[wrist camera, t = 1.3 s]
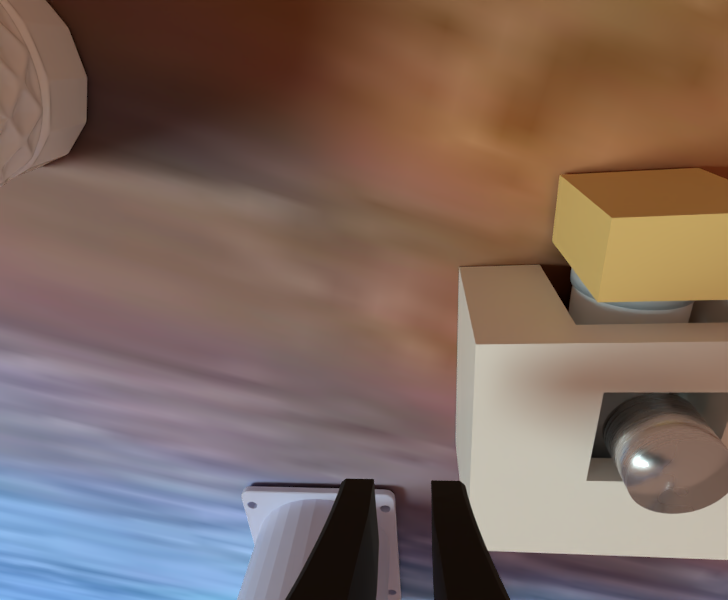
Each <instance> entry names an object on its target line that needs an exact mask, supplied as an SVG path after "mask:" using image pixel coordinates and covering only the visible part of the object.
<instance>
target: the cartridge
mask: <svg viewBox="0 0 728 600" xmlns="http://www.w3.org/2000/svg"><path fill="white" fill-rule="evenodd" d="M552 242H553V243H554V244H555V246H556V247H557V248H558V250H559V251H560V252H561V254H562V255H563V257H564V258H565V259H566V261H567V262H568V263H569V265H570V266H571V267H572V268H571V275H570V281H571V283H572V290H571V297H570V304H569V311H568V313H569V314H570V316H571V318H572V319H573V321H574V323H575V324H576V325H598V324H661V323H688V321H689V318H690V314H691V310H692V307H693V303H694V302H695V301H696V300H728V179H725V178H723V177H720V176H718V175H715V174H713V173H710V172H708V171H705V170H703V169H700V168H683V169H663V170H644V171H624V172H605V173H585V174H565V175H560V177H559V186H558V195H557V203H556V212H555V221H554V229H553V238H552ZM648 393H669V392H604V394H603V399H602V404H601V409H600V414H599V419H598V424H597V429H596V434H595V439H594V444H593V449H592V455H591V458H612V457H611V455H610V453H609V451H608V449H607V447H606V445H605V443H604V441H603V438H602V428H603V424H604V422H605V420H606V418H607V417H608V415H609V414H610V413H611V412H612V411H613V410H614V409H615V408H616V407H617V406H619V405H620V404H621V403H623V402H625V401H626V400H629V399H631V398H633V397H636V396H639V395H643V394H648Z"/></svg>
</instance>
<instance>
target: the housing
mask: <svg viewBox="0 0 728 600" xmlns="http://www.w3.org/2000/svg"><path fill="white" fill-rule="evenodd" d="M604 392H669V393H670V394H674V395H678V396H680V397H682V398H684V399H686V400H688V401H689V402H690V403H691V404H692V405H693V406H694V407H695V408H696V410H697V411H698V412H699V414H700V415H701V416H702V417H703V419H704V420H705V421H706V422H707V424H708V425H709V426H710V427H711V429H712V430H713V431H714V432H715V434H716V435H717V436H718V437H719V439H720V440H721V441H722V442H723V444H724V445H725V446H726V447H727V449H728V300H696V301H695V302H694V303H693V307H692V310H691V314H690V318H689V321H688V323H661V324H598V325H576V324H575V323H574V321H573V319H572V318H571V316H570V314H569V313H568V311H567V309H566V308H565V306H564V304H563V303H562V301H561V299H560V298H559V296H558V294H557V293H556V291H555V289H554V288H553V286H552V284H551V283H550V281H549V279H548V278H547V276H546V274H545V273H544V271H543V269H542V268H541V266H540V265H509V266H476V267H459V298H458V347H457V397H456V451H457V460H458V469H459V478H460V481H461V482H462V483H463V484H464V485H465V486H466V490H467V494H468V498H469V501H470V505H471V508H472V511H473V514H474V517H475V519H476V522H477V525H478V528H479V530H480V533H481V535H482V538H483V540H484V543H485V545H486V548H487V550H488V551H503V552H530V553H557V554H583V555H610V556H637V557H663V558H690V559H717V560H728V493H727V494H726V495H725V496H724V497H723V498H721V499H720V500H719V501H717V502H715V503H714V504H712V505H710V506H707V507H705V508H702V509H699V510H696V511H692V512H687V513H679V514H666V513H659V512H654V511H651V510H648V509H646V508H644V507H642V506H640V505H639V504H637V503H636V502H635V501H634V500H633V499H632V497H631V496H630V494H629V492H628V490H627V488H626V486H625V484H624V482H623V480H622V478H621V476H620V474H619V472H618V470H617V468H616V466H615V464H614V462H613V459H612V458H591V455H592V449H593V444H594V439H595V434H596V429H597V424H598V419H599V414H600V409H601V404H602V399H603V394H604Z"/></svg>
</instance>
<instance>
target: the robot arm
mask: <svg viewBox="0 0 728 600" xmlns="http://www.w3.org/2000/svg"><path fill="white" fill-rule="evenodd" d="M431 492H432V556H433V585H434V600H510V598H509V596H508V594H507V592H506V590H505V588H504V585H503V583H502V581H501V579H500V577H499V575H498V572H497V570H496V568H495V566H494V564H493V561H492V559H491V557H490V555H489V552H488V550H487V548H486V545H485V543H484V540H483V538H482V535H481V533H480V530H479V528H478V525H477V522H476V519H475V517H474V514H473V511H472V508H471V505H470V501H469V498H468V494H467V490H466V486H465V485H464V484H463V483H462V482H461V481H431ZM242 501H243V504H244V508H245V512H246V515H247V519H248V523H249V526H250V530H251V534H252V537H253V541H254V545H255V546H254V549H253V552H252V555H251V558H250V561H249V564H248V568H247V571H246V574H245V577H244V580H243V583H242V586H241V589H240V592H239V595H238V599H237V600H401V585H400V569H399V553H398V537H397V520H396V504H395V495H394V493H393V492H391V491H389V490H385V489H375V488H374V479H345V480H344V481H343V482H342V483H341V485H340V488H304V487H261V486H249V487H246V488H245V489H244V490H243V493H242ZM384 505H386V506H384Z"/></svg>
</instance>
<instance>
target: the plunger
mask: <svg viewBox="0 0 728 600" xmlns="http://www.w3.org/2000/svg"><path fill="white" fill-rule="evenodd" d="M602 438H603V441H604V443H605V445H606V447H607V449H608V451H609V453H610V455H611V457H612V459H613V462H614V464H615V466H616V468H617V470H618V472H619V474H620V476H621V478H622V480H623V482H624V484H625V486H626V488H627V490H628V492H629V494H630V496H631V497H632V499H633V500H634V501H635V502H636V503H637V504H639V505H640V506H642V507H644V508H646V509H648V510H651V511H654V512H659V513H666V514H679V513H687V512H692V511H696V510H699V509H702V508H705V507H707V506H710V505H712V504H714V503H715V502H717V501H719V500H720V499H721V498H723V497H724V496H725V495H726V494H727V493H728V449H727V447H726V446H725V445H724V444H723V442H722V441H721V440H720V439H719V437H718V436H717V435H716V434H715V432H714V431H713V430H712V429H711V427H710V426H709V425H708V424H707V422H706V421H705V420H704V419H703V417H702V416H701V415H700V414H699V412H698V411H697V410H696V408H695V407H694V406H693V405H692V404H691V403H690V402H689V401H688V400H686V399H684V398H682V397H680V396H678V395H674V394H670V393H648V394H643V395H639V396H636V397H633V398H631V399H629V400H626V401H625V402H623V403H621V404H620V405H619V406H617V407H616V408H615V409H614V410H613V411H612V412H611V413H610V414H609V415H608V417H607V418H606V420H605V422H604V424H603V428H602Z"/></svg>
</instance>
